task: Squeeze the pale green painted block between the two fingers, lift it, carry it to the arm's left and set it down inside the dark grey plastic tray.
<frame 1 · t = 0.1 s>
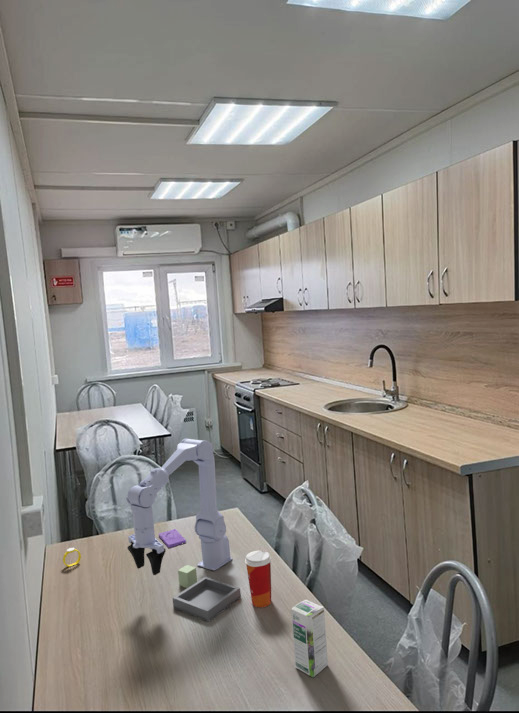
hand: (148, 570, 155), 10 cm above the table, fingers open, 7 cm apart
sponges: (172, 541, 200), on the table
syrup box: (311, 667, 122), on the table
green block: (188, 584, 166), on the table
gold ring: (72, 565, 186), on the table
pill bottle: (261, 603, 151), on the table
tray: (207, 602, 154), on the table
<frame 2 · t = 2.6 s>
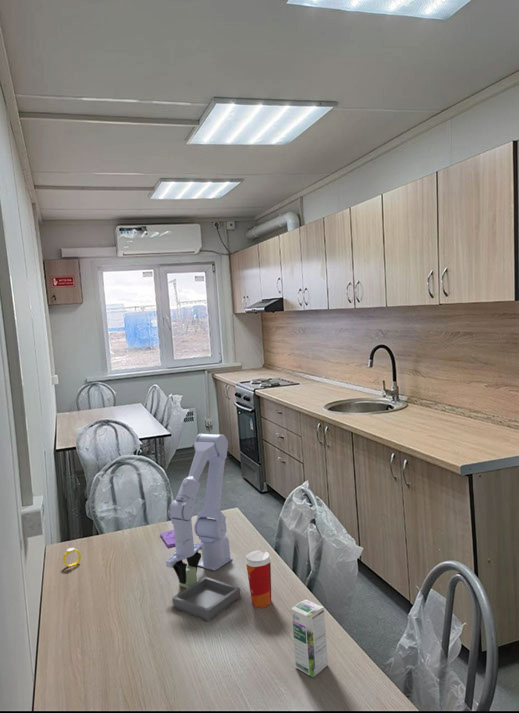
hand: (187, 579, 165), 1 cm above the table, fingers closed on green block, 4 cm apart
green block: (188, 583, 166), on the table, touching gripper
everything else where it was.
when the fingers open (3 cm above the table, at t = 6.0 s): green block stays where it is, resting on tray.
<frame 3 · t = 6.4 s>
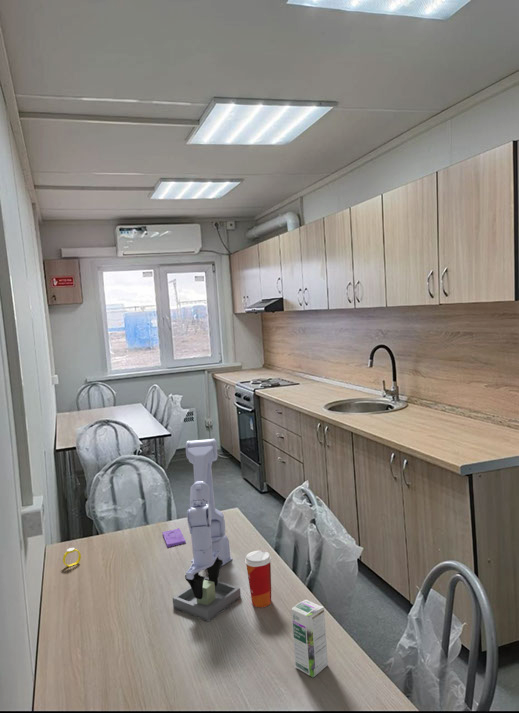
hand: (206, 591, 153), 3 cm above the table, fingers open, 7 cm apart
green block: (206, 600, 154), point 1 cm above the table, touching tray
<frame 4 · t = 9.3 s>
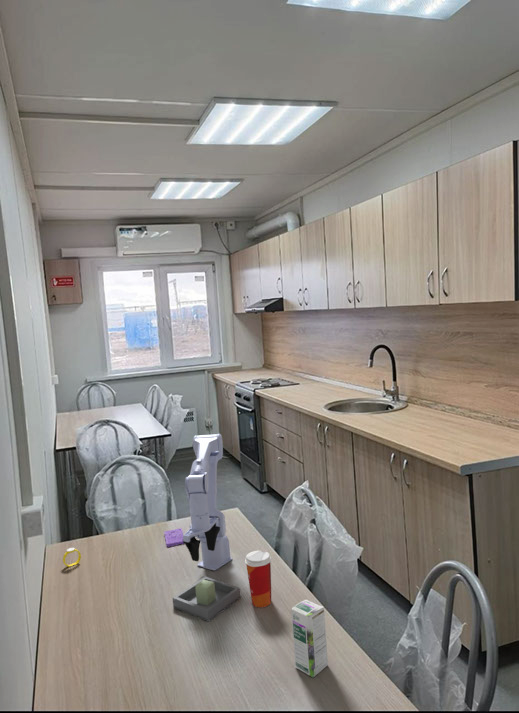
hand: (203, 555, 163), 10 cm above the table, fingers open, 7 cm apart
at the end: green block inside the target area on the tray (0.3 cm from its centre), point 0.6 cm above the tray's base; the gripper is holding nothing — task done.
